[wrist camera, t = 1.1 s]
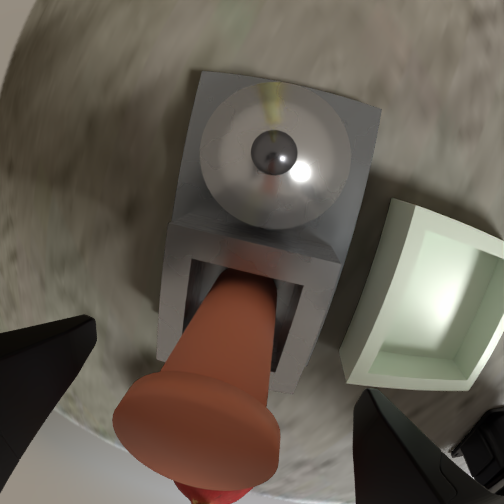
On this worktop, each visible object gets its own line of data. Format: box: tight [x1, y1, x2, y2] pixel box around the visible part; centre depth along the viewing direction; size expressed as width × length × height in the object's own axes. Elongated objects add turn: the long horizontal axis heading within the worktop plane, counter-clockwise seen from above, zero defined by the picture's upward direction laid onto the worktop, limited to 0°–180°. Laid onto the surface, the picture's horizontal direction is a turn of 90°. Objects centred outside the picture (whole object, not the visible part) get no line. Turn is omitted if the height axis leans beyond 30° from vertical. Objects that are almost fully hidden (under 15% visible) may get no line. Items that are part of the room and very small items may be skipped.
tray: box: [339, 198, 504, 391], centre depth 12 cm, size 9×9×3 cm
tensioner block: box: [157, 71, 382, 394], centre depth 12 cm, size 8×13×4 cm, turn 168°
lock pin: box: [112, 268, 280, 491], centre depth 9 cm, size 4×4×9 cm
